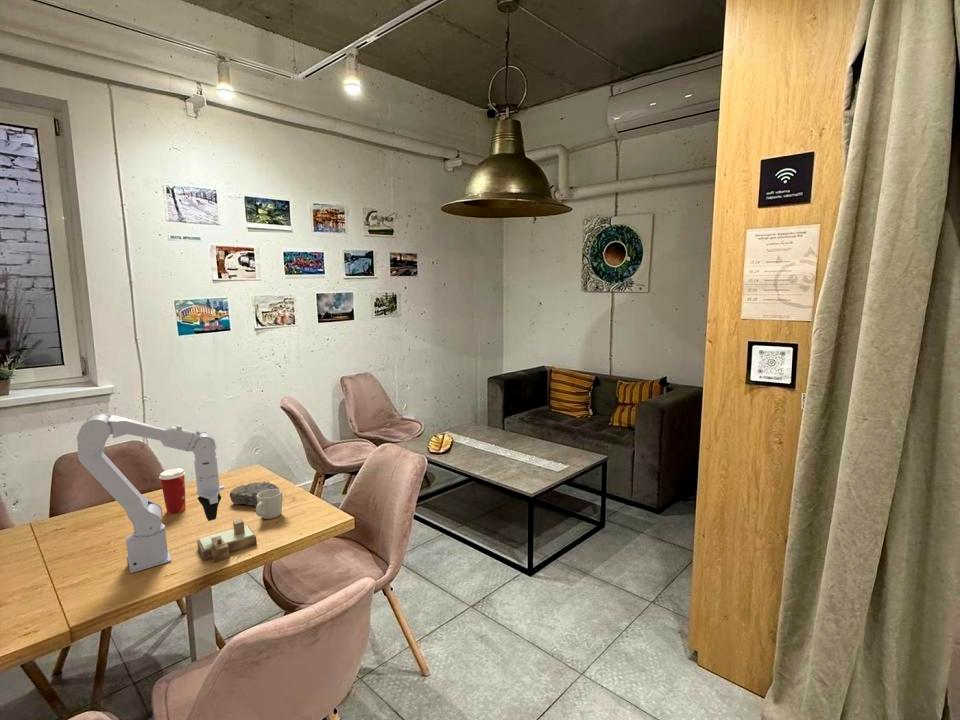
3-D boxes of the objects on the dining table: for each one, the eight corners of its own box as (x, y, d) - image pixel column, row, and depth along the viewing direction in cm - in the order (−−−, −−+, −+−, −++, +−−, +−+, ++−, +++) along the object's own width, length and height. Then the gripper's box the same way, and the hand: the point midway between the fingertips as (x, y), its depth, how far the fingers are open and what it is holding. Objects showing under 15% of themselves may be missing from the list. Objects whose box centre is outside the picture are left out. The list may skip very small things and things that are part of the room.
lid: (204, 550, 139) (203, 537, 139) (199, 540, 146) (197, 527, 145) (253, 536, 147) (252, 522, 147) (246, 526, 153) (245, 514, 153)
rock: (285, 498, 182) (255, 493, 188) (283, 481, 181) (254, 476, 188) (256, 511, 171) (226, 505, 177) (255, 493, 170) (224, 488, 176)
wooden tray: (205, 565, 137) (204, 553, 136) (197, 548, 146) (196, 537, 145) (259, 548, 145) (258, 537, 145) (248, 533, 155) (247, 523, 154)
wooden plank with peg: (215, 550, 138) (215, 542, 138) (211, 542, 143) (210, 534, 142) (225, 547, 139) (224, 539, 139) (220, 539, 144) (220, 532, 144)
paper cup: (193, 508, 174) (189, 470, 172) (170, 517, 168) (165, 477, 166) (181, 504, 178) (177, 466, 176) (158, 512, 172) (154, 473, 170)
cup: (269, 526, 159) (267, 502, 158) (247, 524, 161) (245, 500, 160) (288, 511, 170) (287, 489, 169) (268, 510, 171) (266, 487, 170)
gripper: (227, 478, 141) (232, 523, 143) (217, 465, 152) (221, 507, 154) (199, 484, 137) (204, 531, 139) (190, 470, 148) (195, 514, 150)
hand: (211, 519), depth 146 cm, fingers closed
